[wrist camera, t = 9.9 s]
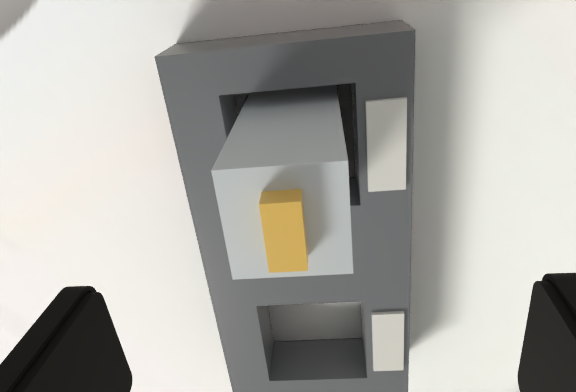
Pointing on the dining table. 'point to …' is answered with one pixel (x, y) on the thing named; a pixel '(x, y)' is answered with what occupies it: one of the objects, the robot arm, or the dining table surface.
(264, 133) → the plug
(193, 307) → the dining table surface
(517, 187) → the dining table surface
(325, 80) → the panel
